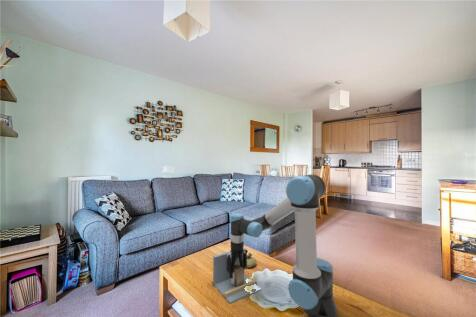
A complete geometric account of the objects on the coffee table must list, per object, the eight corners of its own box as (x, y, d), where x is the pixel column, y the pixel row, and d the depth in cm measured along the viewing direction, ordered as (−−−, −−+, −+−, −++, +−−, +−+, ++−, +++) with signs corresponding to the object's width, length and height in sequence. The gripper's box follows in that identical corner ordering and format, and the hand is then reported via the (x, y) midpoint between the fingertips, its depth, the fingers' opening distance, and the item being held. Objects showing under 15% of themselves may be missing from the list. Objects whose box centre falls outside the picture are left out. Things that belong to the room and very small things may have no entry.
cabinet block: (244, 284, 111) (244, 267, 111) (236, 287, 108) (236, 269, 108) (237, 278, 117) (237, 261, 117) (229, 281, 114) (230, 263, 114)
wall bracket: (261, 289, 108) (261, 260, 108) (229, 304, 97) (230, 271, 97) (240, 272, 125) (240, 247, 125) (212, 283, 114) (212, 255, 114)
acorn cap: (254, 271, 127) (259, 256, 133) (238, 263, 129) (244, 249, 135) (252, 274, 134) (256, 259, 141) (237, 267, 137) (243, 253, 143)
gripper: (246, 235, 121) (246, 273, 121) (220, 242, 111) (219, 283, 111) (253, 239, 115) (253, 279, 114) (226, 246, 105) (226, 290, 105)
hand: (236, 281), depth 113 cm, fingers closed on cabinet block, 5 cm apart
